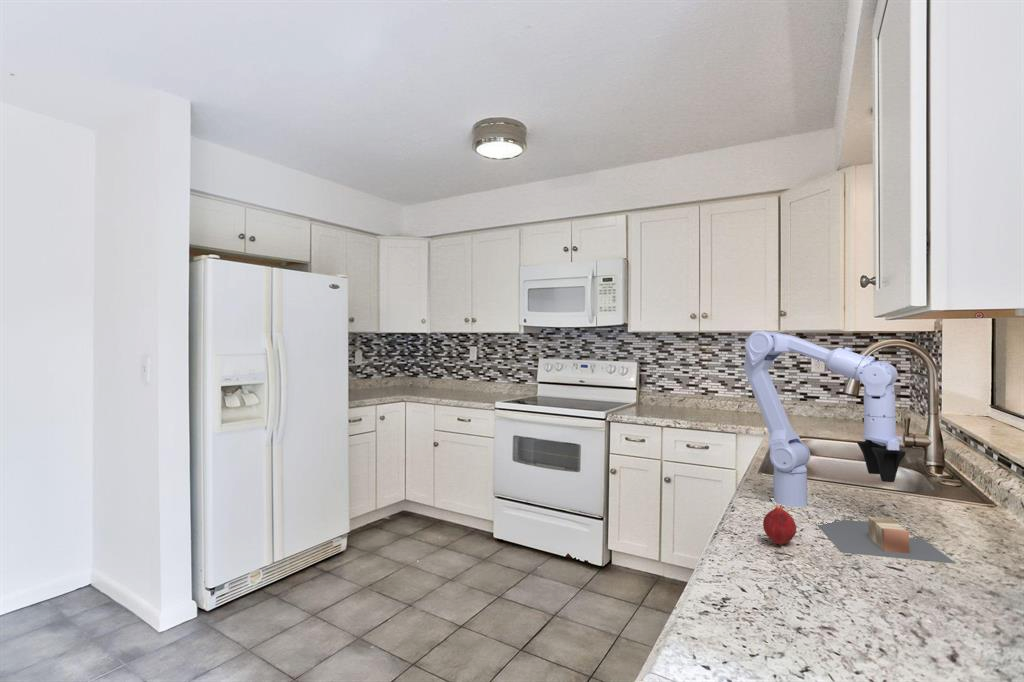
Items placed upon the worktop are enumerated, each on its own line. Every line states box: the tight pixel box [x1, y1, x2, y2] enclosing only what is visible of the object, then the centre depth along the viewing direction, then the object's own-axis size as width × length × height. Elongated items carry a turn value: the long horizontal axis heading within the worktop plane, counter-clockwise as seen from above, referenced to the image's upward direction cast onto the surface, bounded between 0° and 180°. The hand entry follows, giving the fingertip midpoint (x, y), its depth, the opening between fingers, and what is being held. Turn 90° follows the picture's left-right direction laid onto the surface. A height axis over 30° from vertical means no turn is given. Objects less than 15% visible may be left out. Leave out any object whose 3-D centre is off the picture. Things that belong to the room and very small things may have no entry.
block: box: [867, 516, 909, 553], centre depth 100 cm, size 4×4×8 cm
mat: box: [817, 518, 957, 565], centre depth 104 cm, size 22×18×1 cm
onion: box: [762, 504, 797, 546], centre depth 101 cm, size 6×6×8 cm
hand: (880, 477), depth 114 cm, fingers open, 7 cm apart
